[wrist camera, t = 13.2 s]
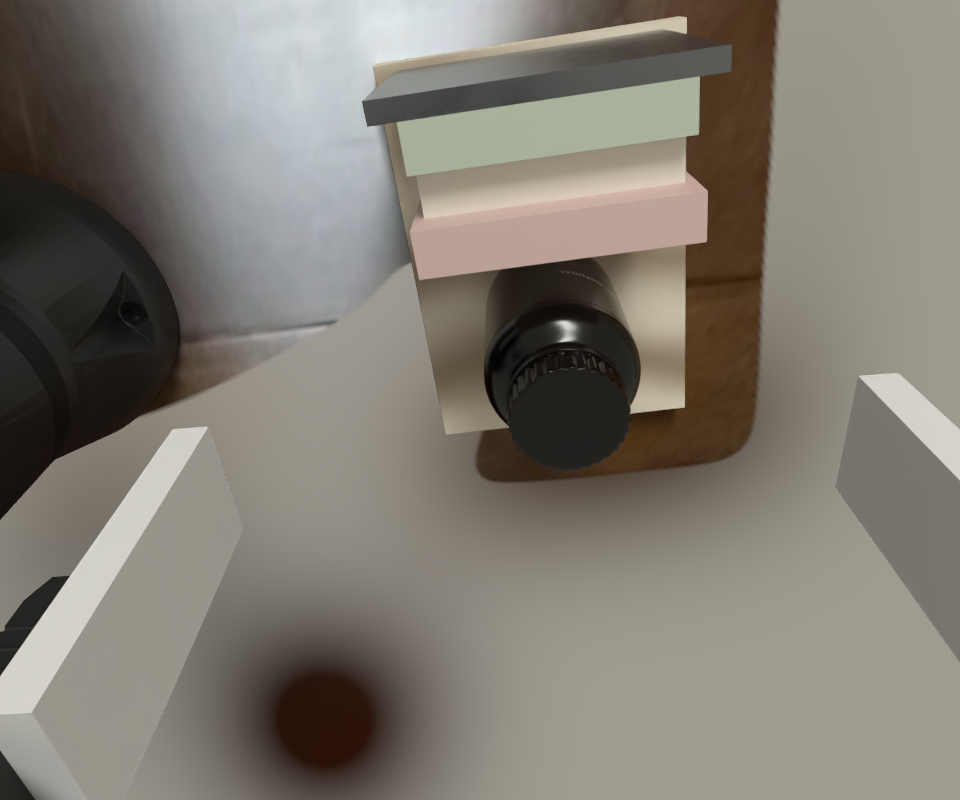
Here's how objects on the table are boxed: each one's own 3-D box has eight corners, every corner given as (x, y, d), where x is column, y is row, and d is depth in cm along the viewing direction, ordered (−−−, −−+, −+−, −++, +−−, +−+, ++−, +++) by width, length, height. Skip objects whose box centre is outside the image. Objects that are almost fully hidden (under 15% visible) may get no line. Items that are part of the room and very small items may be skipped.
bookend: (663, 48, 31) (731, 71, 23) (399, 89, 32) (367, 126, 24) (663, 28, 31) (731, 44, 22) (395, 70, 32) (361, 100, 23)
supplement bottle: (608, 231, 35) (659, 330, 25) (617, 351, 39) (665, 482, 28) (474, 252, 36) (470, 357, 26) (494, 368, 39) (497, 503, 29)
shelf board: (678, 394, 42) (684, 407, 41) (447, 421, 43) (445, 434, 42) (678, 16, 32) (686, 17, 31) (377, 63, 33) (372, 66, 32)
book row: (648, 174, 34) (706, 241, 25) (436, 204, 35) (419, 280, 26) (645, 51, 31) (710, 77, 22) (416, 87, 32) (388, 125, 23)
